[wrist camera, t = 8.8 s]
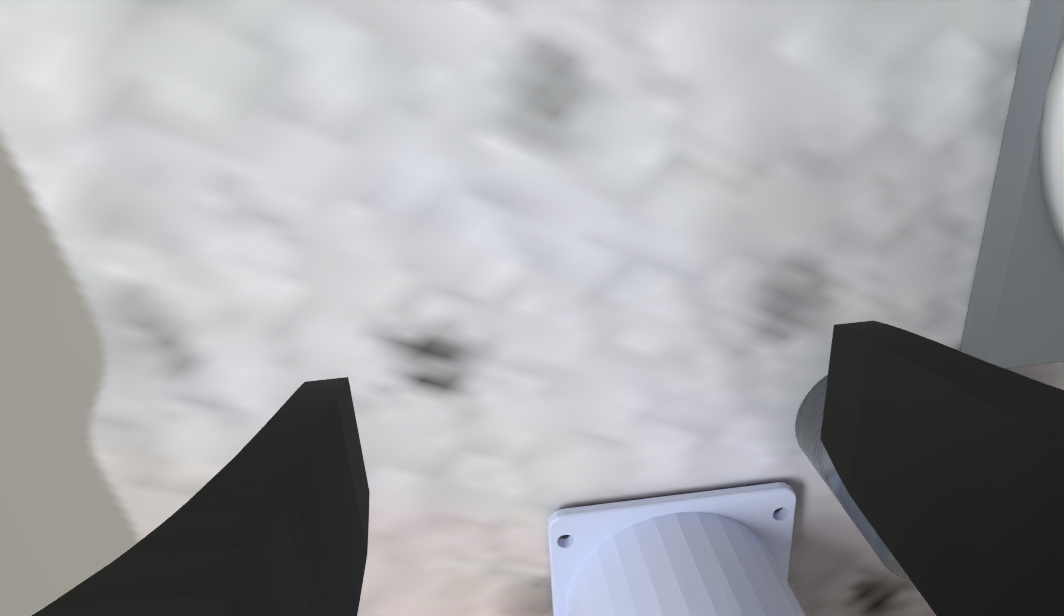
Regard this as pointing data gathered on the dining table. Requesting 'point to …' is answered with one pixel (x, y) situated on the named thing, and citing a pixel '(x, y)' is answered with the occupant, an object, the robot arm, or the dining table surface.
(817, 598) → the dining table surface
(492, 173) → the dining table surface
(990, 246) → the scale
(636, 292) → the dining table surface
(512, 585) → the dining table surface
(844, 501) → the cylinder
